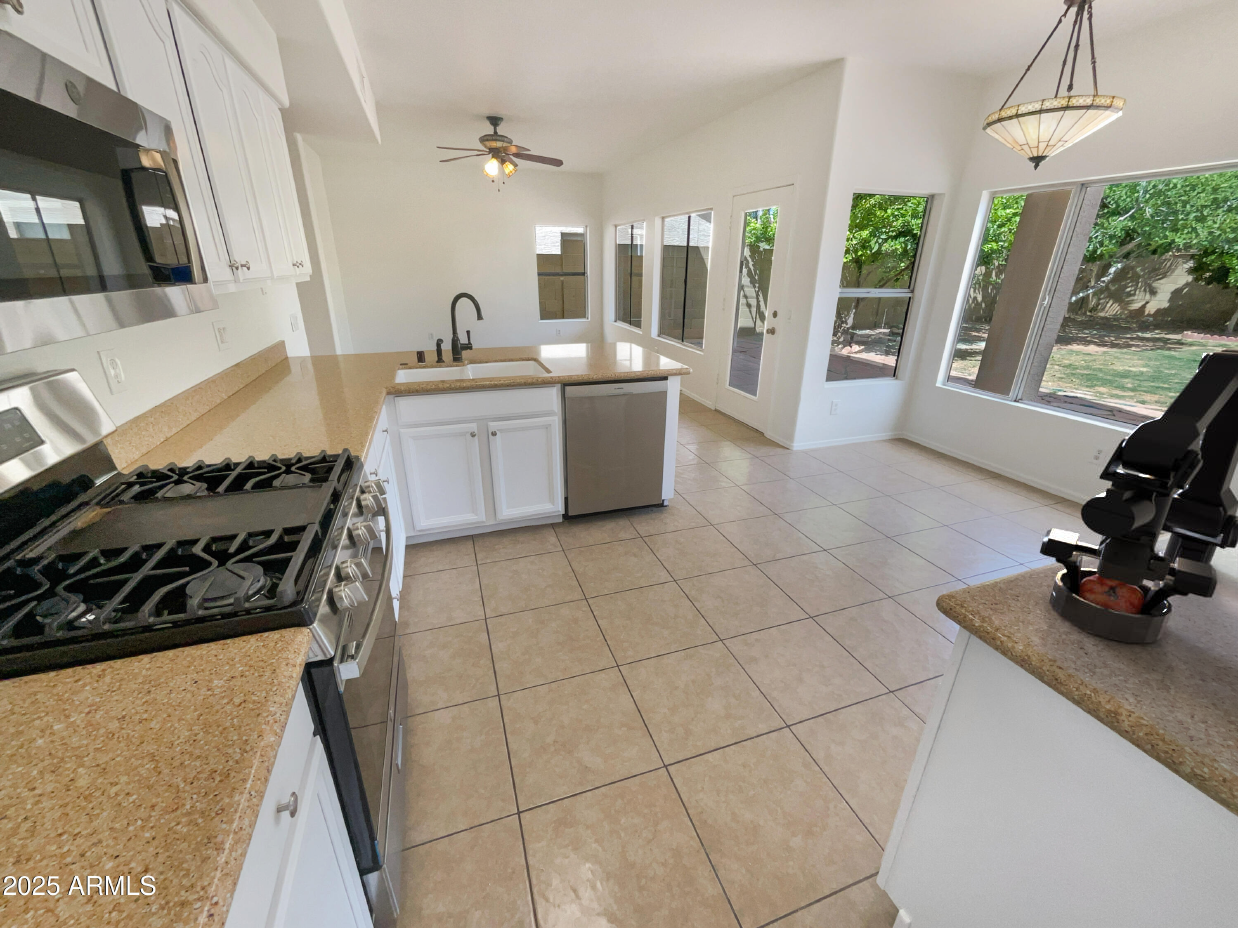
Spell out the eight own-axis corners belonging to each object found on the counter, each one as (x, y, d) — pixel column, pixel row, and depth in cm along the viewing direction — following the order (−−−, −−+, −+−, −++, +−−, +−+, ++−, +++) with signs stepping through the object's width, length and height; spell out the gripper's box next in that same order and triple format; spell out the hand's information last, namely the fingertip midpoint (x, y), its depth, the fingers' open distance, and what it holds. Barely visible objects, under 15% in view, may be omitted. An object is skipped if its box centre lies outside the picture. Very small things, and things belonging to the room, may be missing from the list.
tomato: (1072, 608, 86) (1062, 594, 80) (1098, 573, 85) (1090, 556, 79) (1127, 637, 80) (1121, 624, 74) (1157, 599, 79) (1153, 583, 73)
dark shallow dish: (1055, 584, 90) (1062, 559, 88) (1162, 615, 81) (1172, 588, 79) (1042, 619, 81) (1050, 592, 79) (1160, 658, 72) (1171, 629, 70)
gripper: (1045, 518, 76) (1022, 606, 81) (1236, 561, 63) (1194, 661, 69) (1057, 495, 83) (1035, 577, 88) (1230, 529, 70) (1192, 622, 76)
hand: (1106, 606), depth 80 cm, fingers closed on tomato, 7 cm apart
